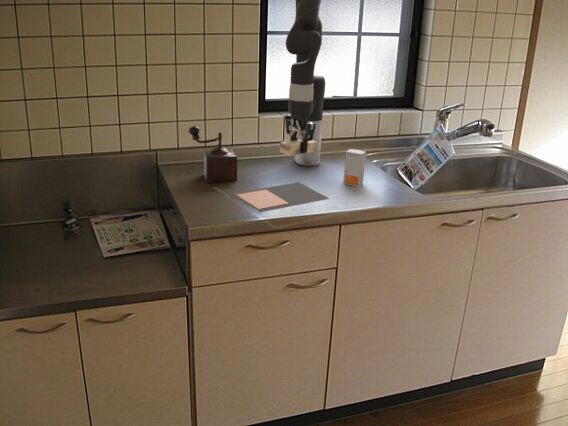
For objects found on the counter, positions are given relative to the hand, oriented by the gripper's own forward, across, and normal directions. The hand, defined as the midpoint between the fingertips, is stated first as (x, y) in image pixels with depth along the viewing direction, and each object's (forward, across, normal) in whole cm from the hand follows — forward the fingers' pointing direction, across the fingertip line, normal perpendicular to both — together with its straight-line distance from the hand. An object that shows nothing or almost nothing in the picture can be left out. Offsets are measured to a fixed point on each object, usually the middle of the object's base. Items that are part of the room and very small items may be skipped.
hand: (298, 150), depth 193 cm
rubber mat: (+15, 0, -6) cm, 16 cm away
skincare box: (+15, 0, +24) cm, 28 cm away
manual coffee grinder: (+15, -27, -17) cm, 35 cm away
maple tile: (0, 0, 0) cm, 0 cm away
